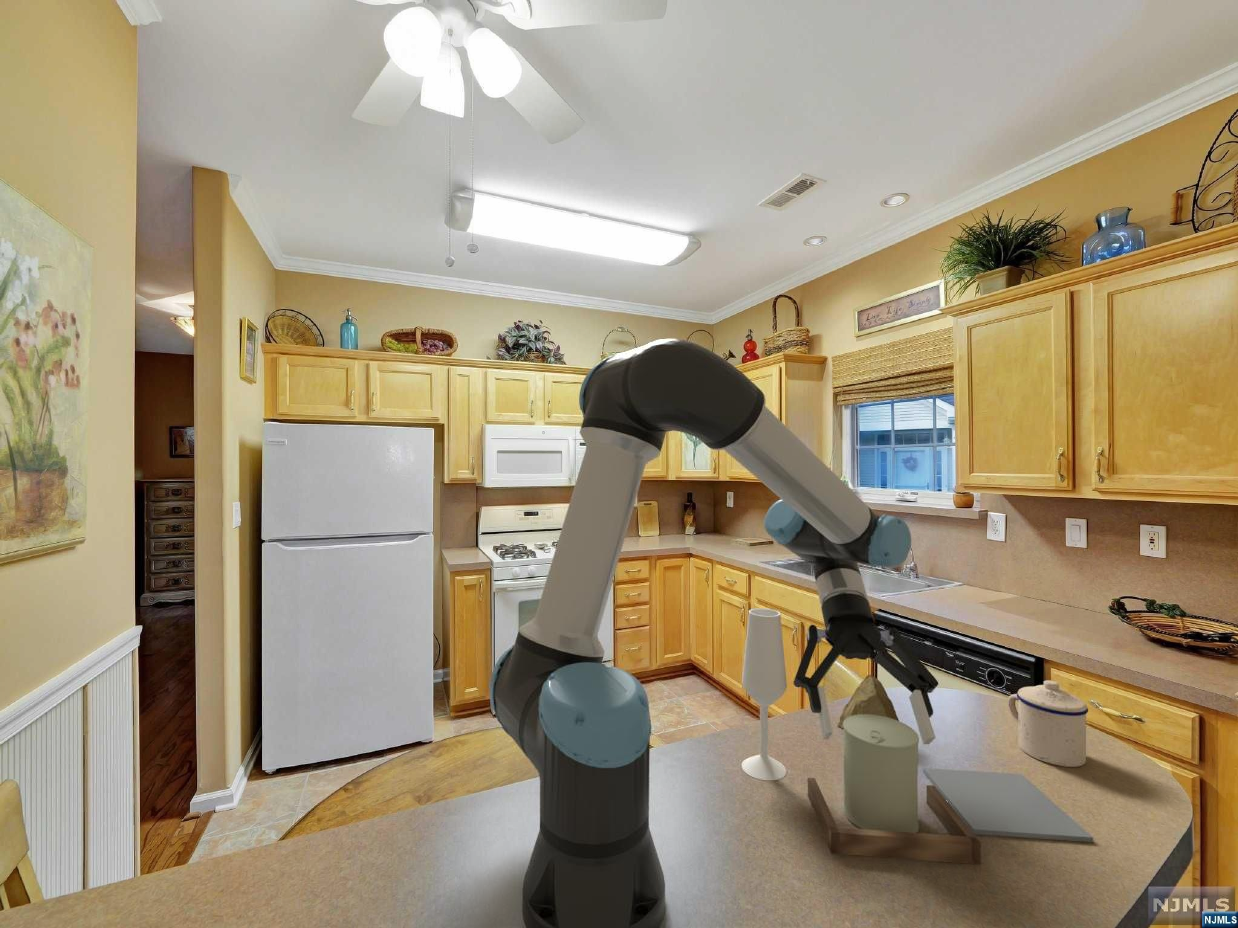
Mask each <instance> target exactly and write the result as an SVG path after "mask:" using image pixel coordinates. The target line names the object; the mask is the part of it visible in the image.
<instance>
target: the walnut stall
mask: <svg viewBox="0 0 1238 928" xmlns="http://www.w3.org/2000/svg"><path fill="white" fill-rule="evenodd" d="M807 798H808V799H809V802H810V803H809V804H810V805H811V807H812V809H813V812H814V814H815V817H816V819H817V822H818V824H819V827H820V829H821V833H822V834H823V837H824V840H825V842H826V844H827V846H828V849H829V851H830V854H836V855H837V854H840V855H851V856H863V857H876V858H877V857H878V858H891V859H903V860H904V859H905V860H916V861H917V860H918V861H932V862H946V863H957V864H959V863H960V864H970V865H971V864H973V865H981V864H982V842H981V841H980V840H979V839H978V837H977V836H976V834H973V832H972V831H971V830H970V829H969V828H968V826H967V825H966V824H965V823H964V821H963V820H962V819H961V818H960V817H959V815H958V814H957V813H956V812H955V810H954V809H953V808H952V807H951V805H950V804H949V803H948V802H947V801H946V799H945V798H944V797H943V796H942V794H941V793H940V792H939V791H938V790H937V788H936V787H935V786H934V785H933V784H926V804H927V806H928V807H929V809H930V810H931V811H932V813H933V814H934V815H935V816H936V818H937V819H938V820H939V822H940V823H941V825H942V826H943V827H944V828H945V830H946V831H947V832H948V834H937V833H923V832H922V833H920V832H917V833H910V832H895V831H881V830H867V829H861V828H849V827H838V826H837V824H836V821H835V819H834V817H833V815H832V813H831V811H830V809H829V805H828V804H827V801H826V799H825V797H824V795H823V793H822V790H821V789H820V786H819V784H818V782H817V780H816V778H815V777H807Z"/></svg>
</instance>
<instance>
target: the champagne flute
mask: <svg viewBox="0 0 1238 928" xmlns="http://www.w3.org/2000/svg"><path fill="white" fill-rule="evenodd" d="M747 616H748V617H747V624H746V625H747V626H746V636H745V645H744V657H743V665H742V666H743V667H742V676H741V685H742V687H743V688H744V690H745V692H746V693H747V695H748V696H749V698H751V699H752V700H753V701H754V702H755V703H756V704H757V705H758V706H759V754H756V755H753V756H750V757H748V758H746V759H744V760H743V761H742V763H741V768H742V770H743V771H744V772H745V774H747V775H749V776H750V777H752V778H754V779H757V780H762V781H768V782H769V781H771V782H772V781H778V780H781V779H783V778H784V777H785V776H786V775H787V768H786V767H785V766H784V765H783V763H781V762H780V761H778V760H776V759H775V758H773V757H772V756H770V755H768V754H769V752H768V751H769V748H768V747H769V734H768V733H769V732H768V731H769V706H772V705H773V704H775V703H776V702H778V700H780V699H781V698H782V697H783V695H784V694H785V693H786V691H787V688H788V684H787V683H788V682H787V672H786V661H785V659H786V658H785V650H784V638H783V637H784V636H783V628H782V627H783V626H782V615H781V612H780V611H778V610H776V609H772V608H762V607H761V608H759V607H758V608H752V609H750V610H748V615H747Z"/></svg>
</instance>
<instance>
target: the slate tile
mask: <svg viewBox="0 0 1238 928" xmlns="http://www.w3.org/2000/svg"><path fill="white" fill-rule="evenodd" d="M922 772H923V774H924V775H925V776H926V778H927V779H928V780H929V781H930V782H931V784H932V785H934V786H935V787H936V788H937V790H938V791H939V792H940V793H941V794H942V796H943V797H944V798H945V799H946V800H947V801H948V803H949V804H950V805H951V807H952V808H953V809H954V810H955V812H956V813H957V814H958V815H959V817H960V818H961V819H962V820H963V821H964V823H965V824H966V825H967V826H968V828H969V829H970V830H971V831H972V832H973V834H974V835H982V836H984V835H985V836H998V837H1010V838H1011V837H1012V838H1013V837H1014V838H1025V839H1026V838H1027V839H1041V840H1053V841H1054V840H1057V841H1067V842H1068V841H1069V842H1070V841H1072V842H1081V843H1082V842H1083V843H1085V842H1086V843H1093V842H1094V836H1093V835H1091V834H1090V833H1089V832H1087V831H1086V830H1085V829H1084V828H1083V827H1082V826H1081V825H1080V824H1079V823H1078V822H1076V821H1075V820H1074V819H1073V818H1072V817H1070V816H1069V814H1068V813H1066V811H1064V810H1062V808H1060V806H1058V805H1057V804H1056V803H1055V802H1054V801H1052V800H1051V799H1050V798H1049V797H1048V796H1047V795H1046V794H1045V793H1044V792H1042V791H1041V789H1040V788H1038V787H1037V786H1036V785H1035V784H1033V783H1032V782H1031V781H1030V780H1029V779H1028V778H1027V777H1025V776H1024V774H1022V773H1015V772H1013V773H1012V772H1009V773H1008V772H996V771H995V772H994V771H979V770H978V771H976V770H962V769H961V770H959V769H942V768H928V767H927V768H924V767H923V768H922Z"/></svg>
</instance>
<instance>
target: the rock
mask: <svg viewBox="0 0 1238 928" xmlns="http://www.w3.org/2000/svg"><path fill="white" fill-rule="evenodd" d="M858 714H871V715H879V716H884V717H888V718H891V719H894V720H897V721H900V720H899V717H898V715H897V712H896V710H895V707H894V704H893V702H892V700H891V699H890V698H889V695H888V693H887V691H886V689H885V687H884V686H883V683H882V682H881V681H880V680H879V679H878V678H876V677H875V676H872V674H868V675H866V676H865V677H864V679H863V680H862V681H861V682H860V684H859V685H858V686H857V688H855V691H854V692H853V694H852V696H851V698H850V700H849V701H848V702H847V703H846V704H845V707H843V710H842V713H841V715H840V717H839V721H838V722H837V725H836V726H837V728H840V729H842V730H844V727H843V722H844V720H845V719H846V718H848V717H850V716H853V715H858Z"/></svg>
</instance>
